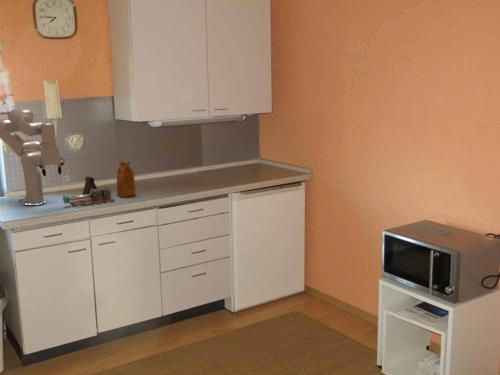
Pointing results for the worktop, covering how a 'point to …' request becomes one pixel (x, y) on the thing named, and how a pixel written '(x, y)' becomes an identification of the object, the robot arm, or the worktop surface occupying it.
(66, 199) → the shaft
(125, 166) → the coffee package
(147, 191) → the worktop surface
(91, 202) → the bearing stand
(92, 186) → the phone stand
